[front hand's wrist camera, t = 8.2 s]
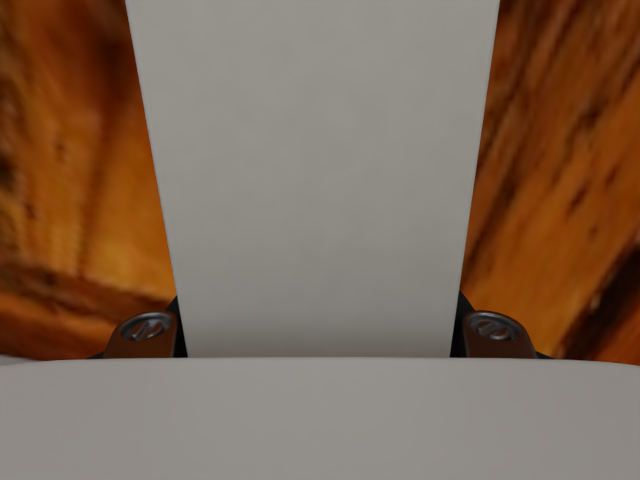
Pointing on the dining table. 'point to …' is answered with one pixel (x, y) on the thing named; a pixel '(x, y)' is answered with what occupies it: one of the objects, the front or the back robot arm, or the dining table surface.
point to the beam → (315, 168)
